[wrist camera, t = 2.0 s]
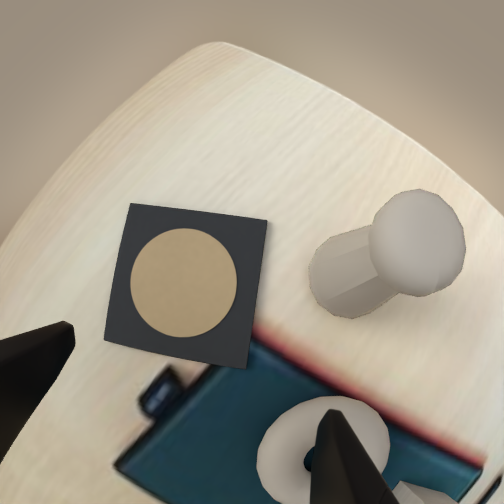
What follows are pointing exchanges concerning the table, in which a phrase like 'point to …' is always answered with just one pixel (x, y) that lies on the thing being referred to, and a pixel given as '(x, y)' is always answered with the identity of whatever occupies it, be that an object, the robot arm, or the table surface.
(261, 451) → the donut
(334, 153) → the table surface
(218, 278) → the coaster
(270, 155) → the table surface
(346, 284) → the salt shaker
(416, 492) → the white paper bag
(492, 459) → the table surface
